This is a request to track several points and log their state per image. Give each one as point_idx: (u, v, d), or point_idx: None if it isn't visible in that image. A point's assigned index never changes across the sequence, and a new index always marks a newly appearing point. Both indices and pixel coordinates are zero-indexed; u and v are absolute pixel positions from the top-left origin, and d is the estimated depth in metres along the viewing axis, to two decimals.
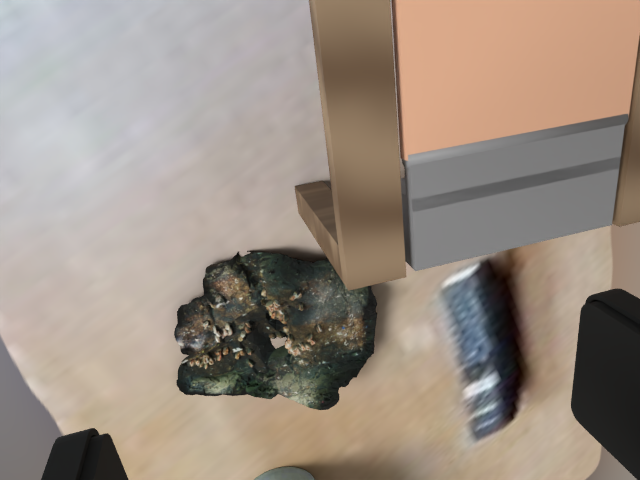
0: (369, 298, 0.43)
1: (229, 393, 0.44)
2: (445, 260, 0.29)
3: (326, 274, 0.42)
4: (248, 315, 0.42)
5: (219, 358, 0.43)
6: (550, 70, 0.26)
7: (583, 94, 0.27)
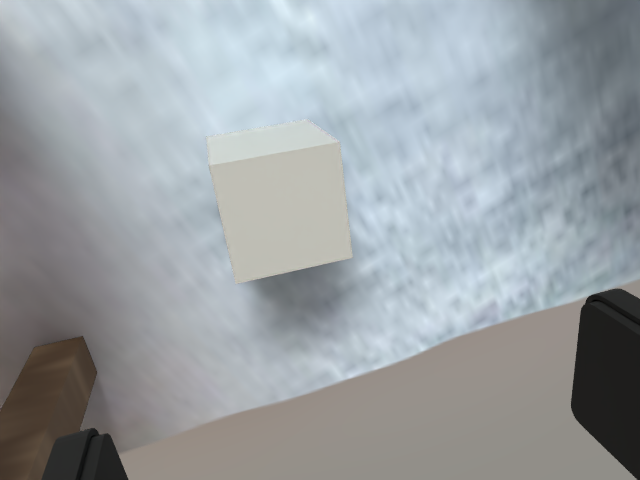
0: None
1: None
2: None
3: None
4: None
5: None
6: None
7: None
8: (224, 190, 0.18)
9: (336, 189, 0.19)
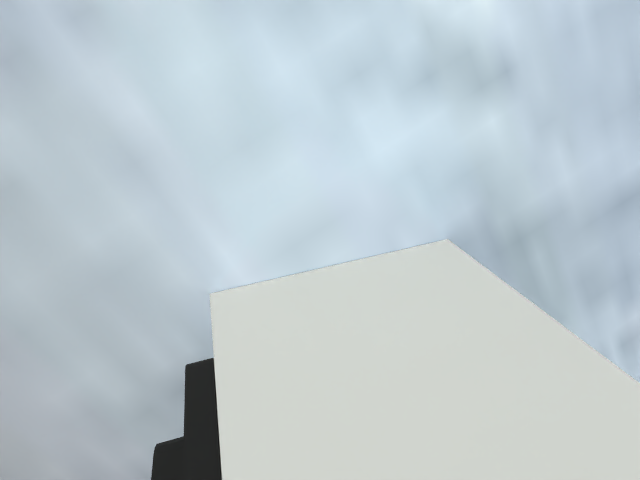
0: None
1: None
2: None
3: None
4: None
5: None
6: None
7: None
8: None
9: None
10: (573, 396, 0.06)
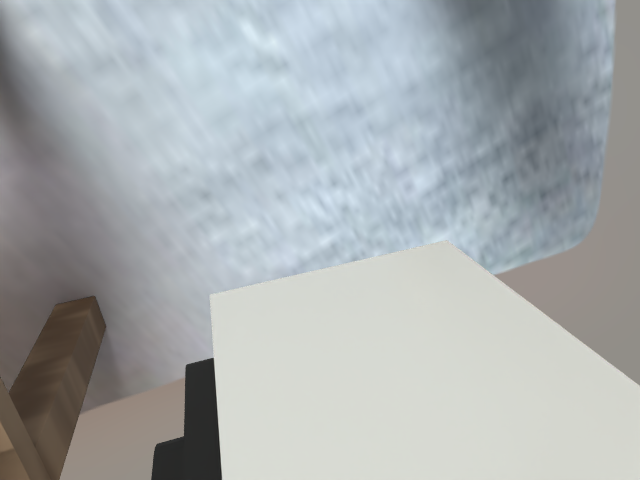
0: None
1: None
2: None
3: None
4: None
5: None
6: None
7: None
8: None
9: None
10: (571, 397, 0.06)
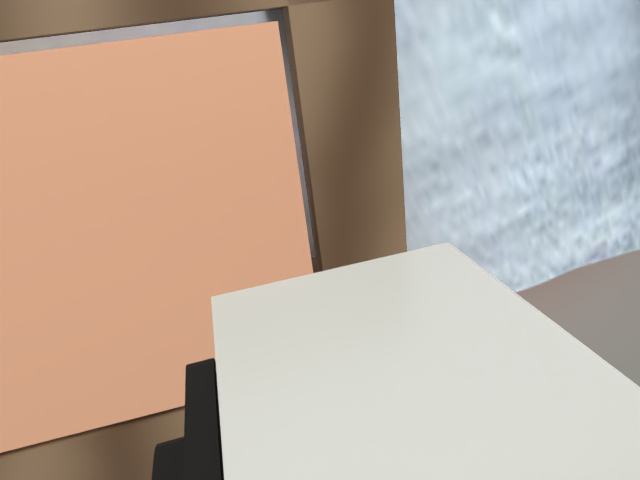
0: None
1: None
2: None
3: None
4: None
5: None
6: (23, 318, 0.17)
7: None
8: None
9: None
10: (575, 401, 0.06)
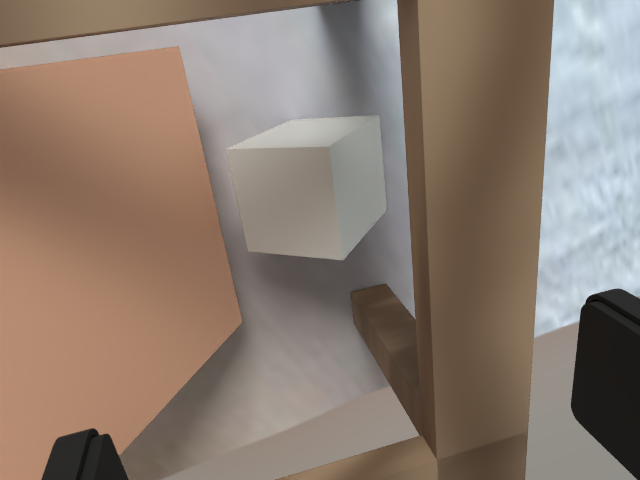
0: None
1: None
2: None
3: None
4: None
5: None
6: (36, 362, 0.15)
7: (17, 454, 0.15)
8: None
9: None
10: (293, 124, 0.24)
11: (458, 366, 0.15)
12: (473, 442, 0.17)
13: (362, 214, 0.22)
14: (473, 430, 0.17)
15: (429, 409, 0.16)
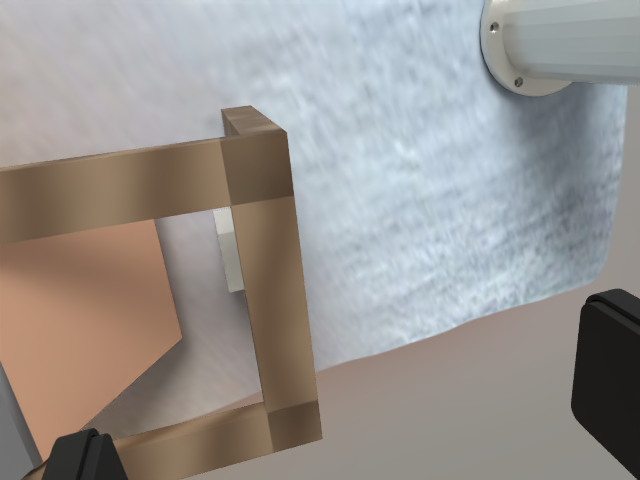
0: None
1: None
2: None
3: None
4: None
5: None
6: (59, 358, 0.30)
7: (48, 404, 0.30)
8: None
9: None
10: (223, 213, 0.40)
11: (272, 363, 0.31)
12: (286, 404, 0.32)
13: None
14: (285, 397, 0.32)
15: (261, 386, 0.32)
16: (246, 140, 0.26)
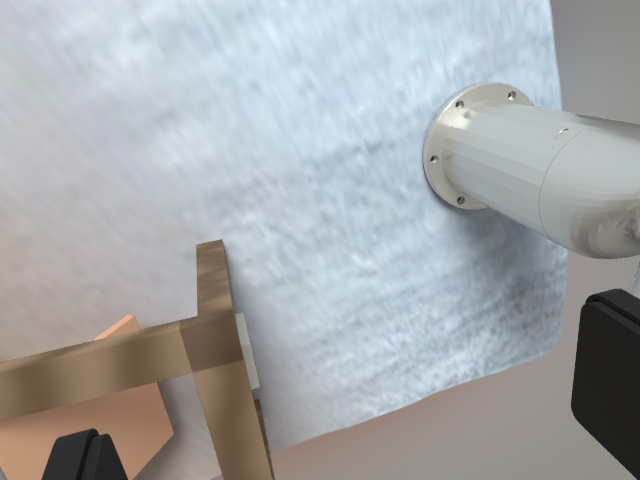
0: None
1: None
2: None
3: None
4: None
5: None
6: None
7: None
8: None
9: None
10: None
11: None
12: None
13: (254, 362, 0.47)
14: None
15: None
16: (201, 326, 0.32)
